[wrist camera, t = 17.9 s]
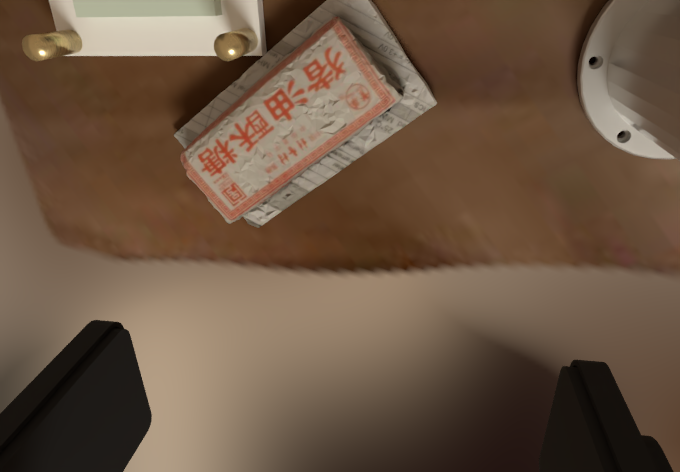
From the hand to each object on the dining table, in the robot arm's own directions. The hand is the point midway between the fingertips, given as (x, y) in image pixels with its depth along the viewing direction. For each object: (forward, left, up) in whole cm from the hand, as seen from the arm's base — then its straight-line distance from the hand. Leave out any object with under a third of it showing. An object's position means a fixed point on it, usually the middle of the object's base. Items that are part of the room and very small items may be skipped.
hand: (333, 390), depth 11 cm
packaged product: (+7, +1, -29) cm, 30 cm away
